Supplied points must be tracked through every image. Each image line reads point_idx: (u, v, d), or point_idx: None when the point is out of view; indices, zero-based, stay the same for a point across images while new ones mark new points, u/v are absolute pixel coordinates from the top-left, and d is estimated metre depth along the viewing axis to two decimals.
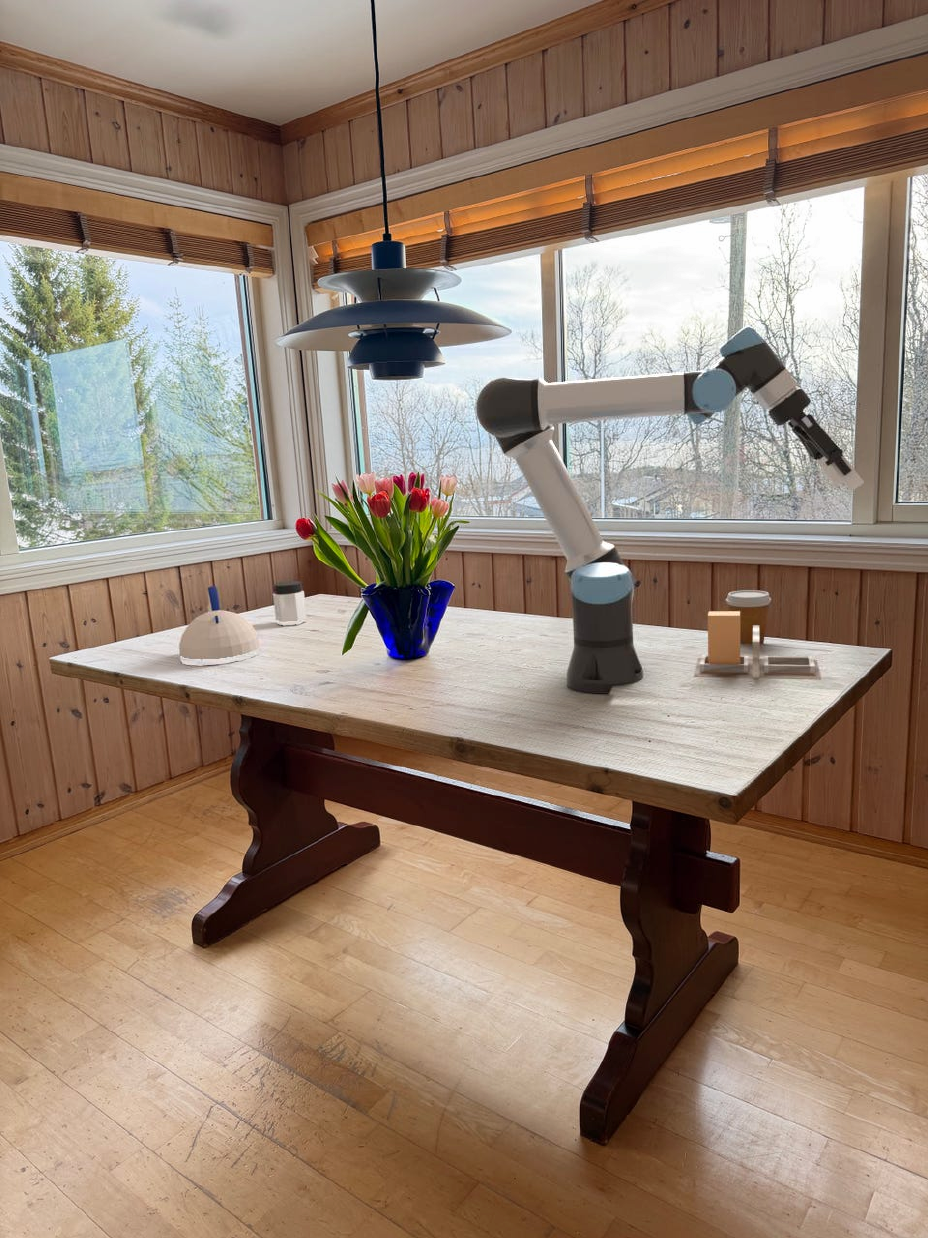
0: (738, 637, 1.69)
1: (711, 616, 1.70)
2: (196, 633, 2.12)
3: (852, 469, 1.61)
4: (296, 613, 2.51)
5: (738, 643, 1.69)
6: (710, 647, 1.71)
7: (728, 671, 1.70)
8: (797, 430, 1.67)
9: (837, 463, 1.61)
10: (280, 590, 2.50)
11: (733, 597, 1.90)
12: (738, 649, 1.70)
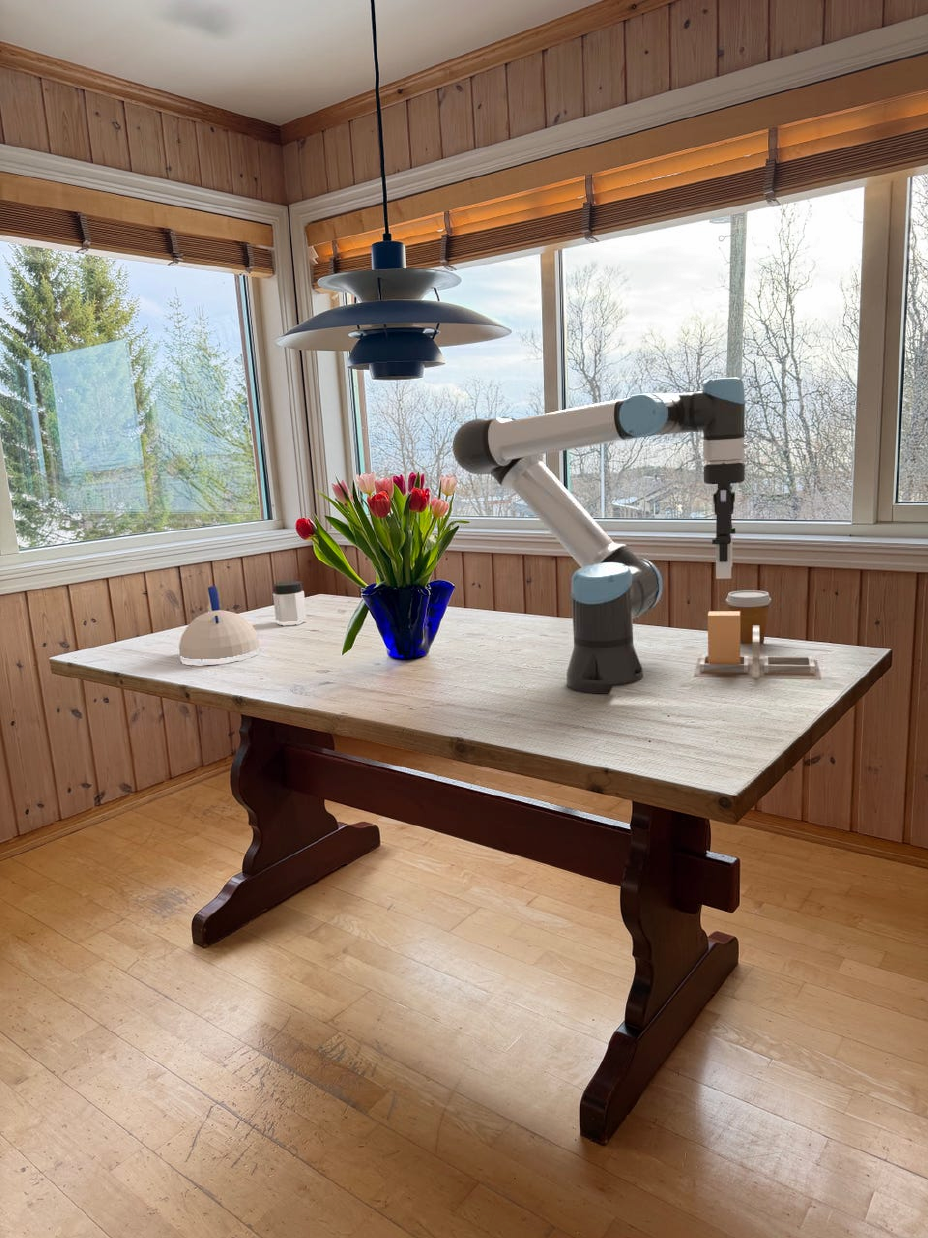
0: (738, 637, 1.69)
1: (711, 616, 1.70)
2: (196, 633, 2.12)
3: (729, 561, 1.62)
4: (296, 613, 2.51)
5: (738, 643, 1.69)
6: (710, 647, 1.71)
7: (728, 671, 1.70)
8: (714, 497, 1.65)
9: (720, 547, 1.61)
10: (280, 590, 2.50)
11: (733, 597, 1.90)
12: (738, 649, 1.70)
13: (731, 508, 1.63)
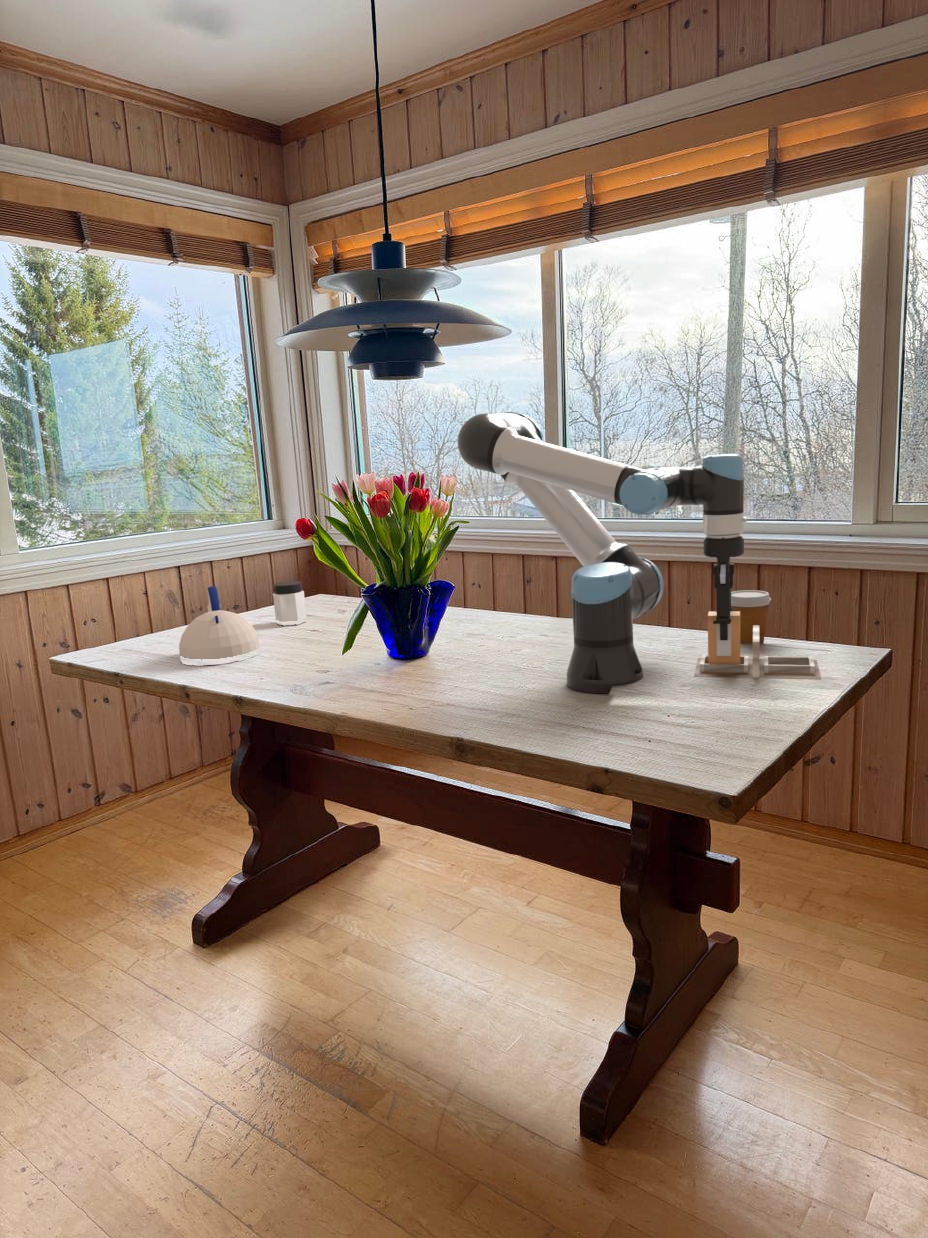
0: (738, 637, 1.69)
1: (711, 616, 1.70)
2: (196, 633, 2.12)
3: (729, 639, 1.69)
4: (296, 613, 2.51)
5: (738, 643, 1.69)
6: (710, 647, 1.71)
7: (728, 671, 1.70)
8: (714, 572, 1.68)
9: (721, 627, 1.68)
10: (280, 590, 2.50)
11: (733, 597, 1.90)
12: (738, 649, 1.70)
13: (731, 585, 1.67)
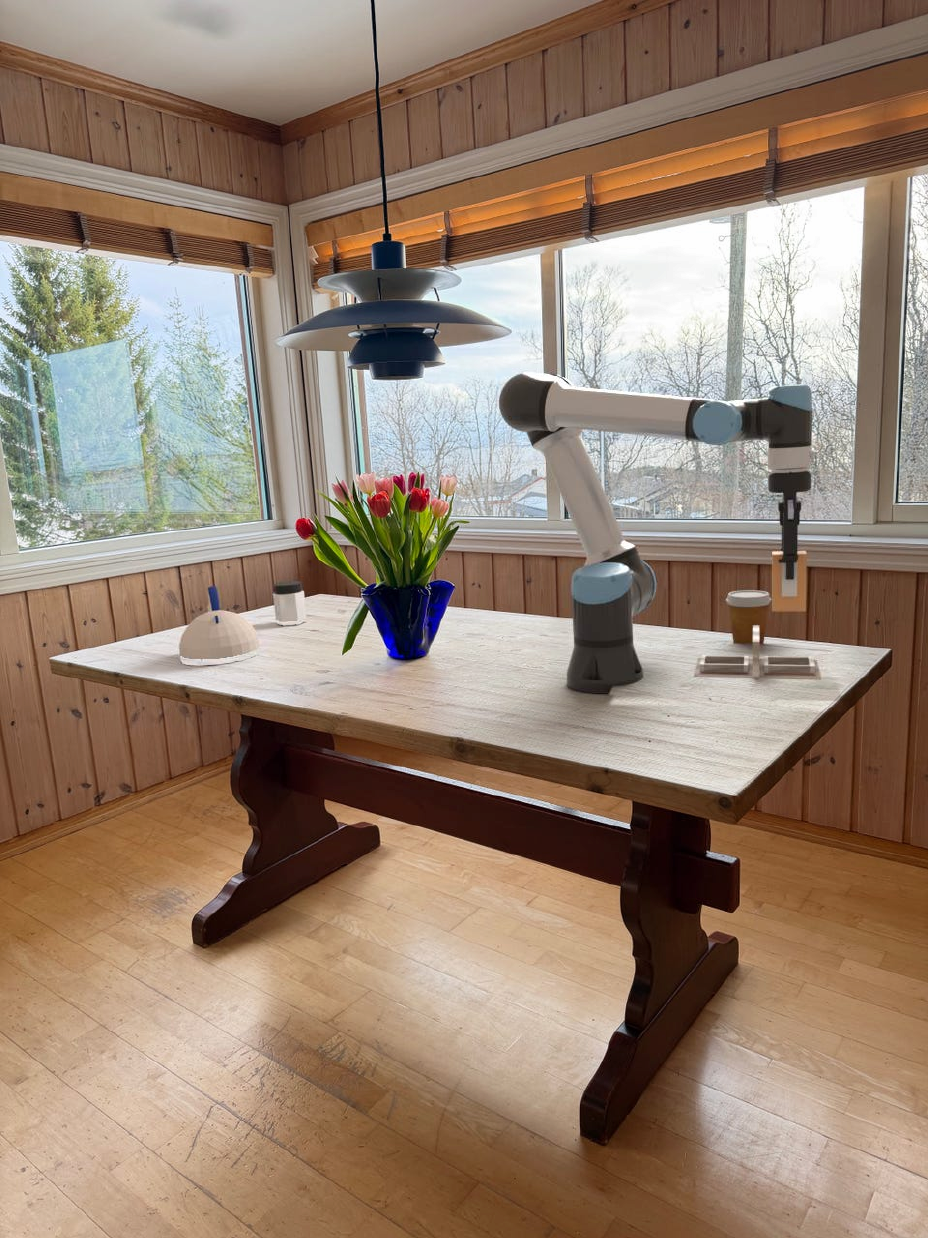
0: (805, 576, 1.63)
1: (776, 555, 1.64)
2: (196, 633, 2.12)
3: (795, 579, 1.63)
4: (296, 613, 2.51)
5: (804, 583, 1.63)
6: (774, 588, 1.65)
7: (728, 671, 1.70)
8: (780, 508, 1.62)
9: (787, 565, 1.62)
10: (280, 590, 2.50)
11: (733, 597, 1.90)
12: (804, 589, 1.64)
13: (797, 522, 1.61)
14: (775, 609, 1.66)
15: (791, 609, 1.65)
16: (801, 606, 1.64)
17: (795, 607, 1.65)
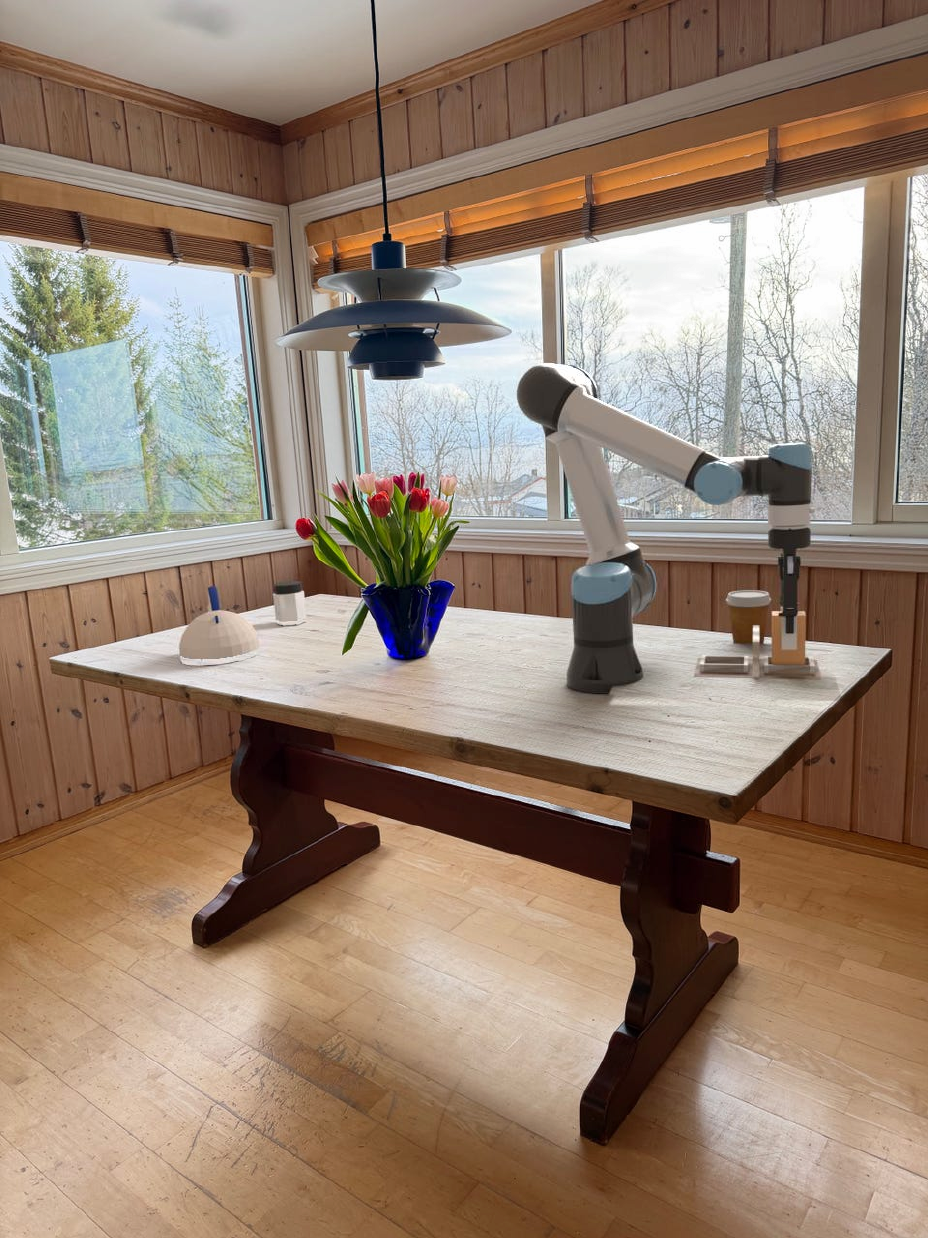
0: (804, 637, 1.65)
1: (776, 616, 1.66)
2: (196, 633, 2.12)
3: (795, 632, 1.63)
4: (296, 613, 2.51)
5: (803, 644, 1.66)
6: (774, 648, 1.68)
7: (728, 671, 1.70)
8: (780, 563, 1.64)
9: (787, 620, 1.62)
10: (280, 590, 2.50)
11: (733, 597, 1.90)
12: (803, 650, 1.66)
13: (797, 577, 1.62)
14: None
15: None
16: None
17: None
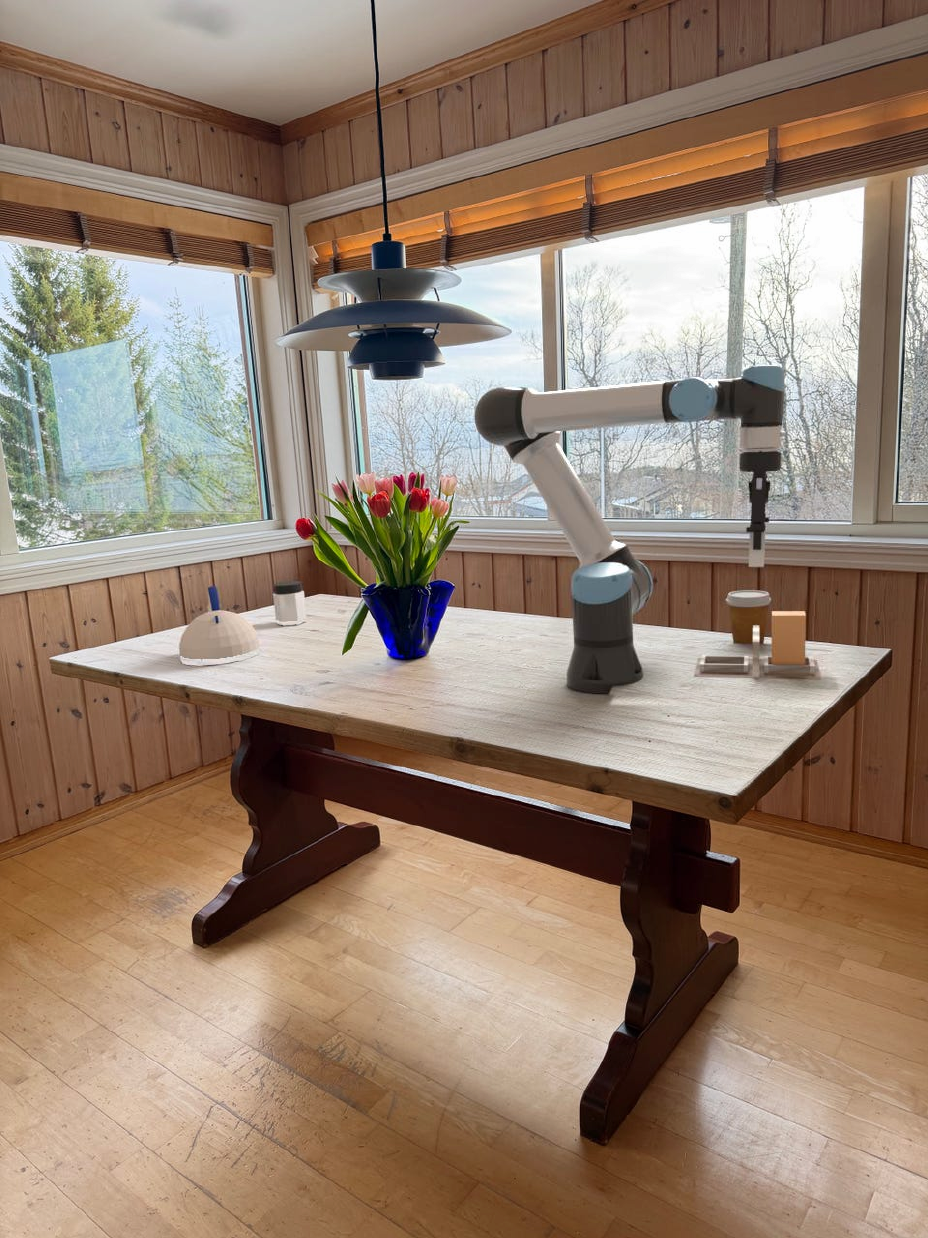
0: (804, 637, 1.65)
1: (776, 616, 1.66)
2: (196, 633, 2.12)
3: (763, 549, 1.61)
4: (296, 613, 2.51)
5: (803, 644, 1.66)
6: (774, 648, 1.68)
7: (728, 671, 1.70)
8: (750, 485, 1.65)
9: (754, 535, 1.60)
10: (280, 590, 2.50)
11: (733, 597, 1.90)
12: (803, 650, 1.66)
13: (766, 496, 1.62)
14: None
15: None
16: None
17: None
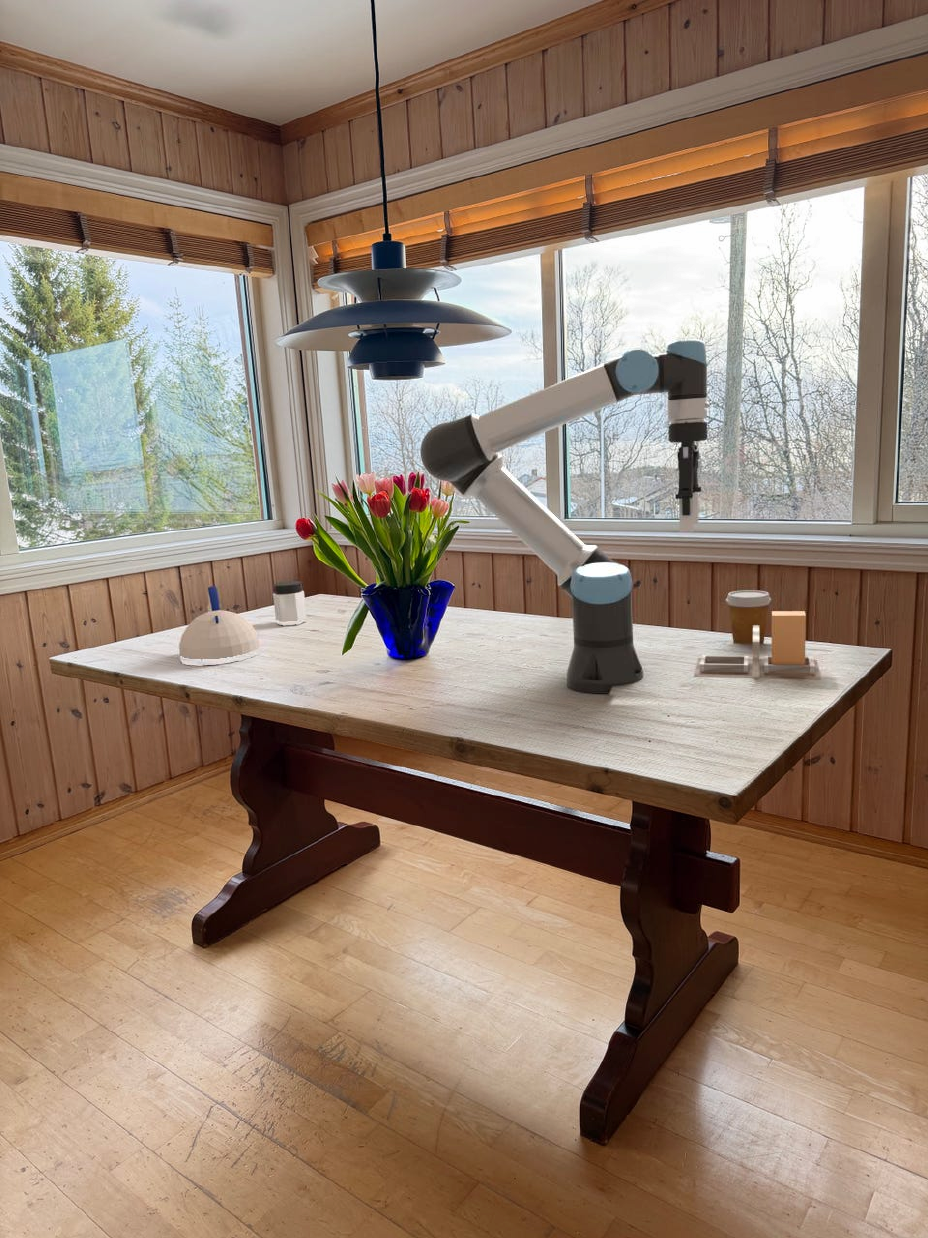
0: (804, 637, 1.65)
1: (776, 616, 1.66)
2: (196, 633, 2.12)
3: (692, 515, 1.70)
4: (296, 613, 2.51)
5: (803, 644, 1.66)
6: (774, 648, 1.68)
7: (728, 671, 1.70)
8: (678, 455, 1.73)
9: (683, 501, 1.69)
10: (280, 590, 2.50)
11: (733, 597, 1.90)
12: (803, 650, 1.66)
13: (694, 465, 1.71)
14: None
15: None
16: None
17: None
